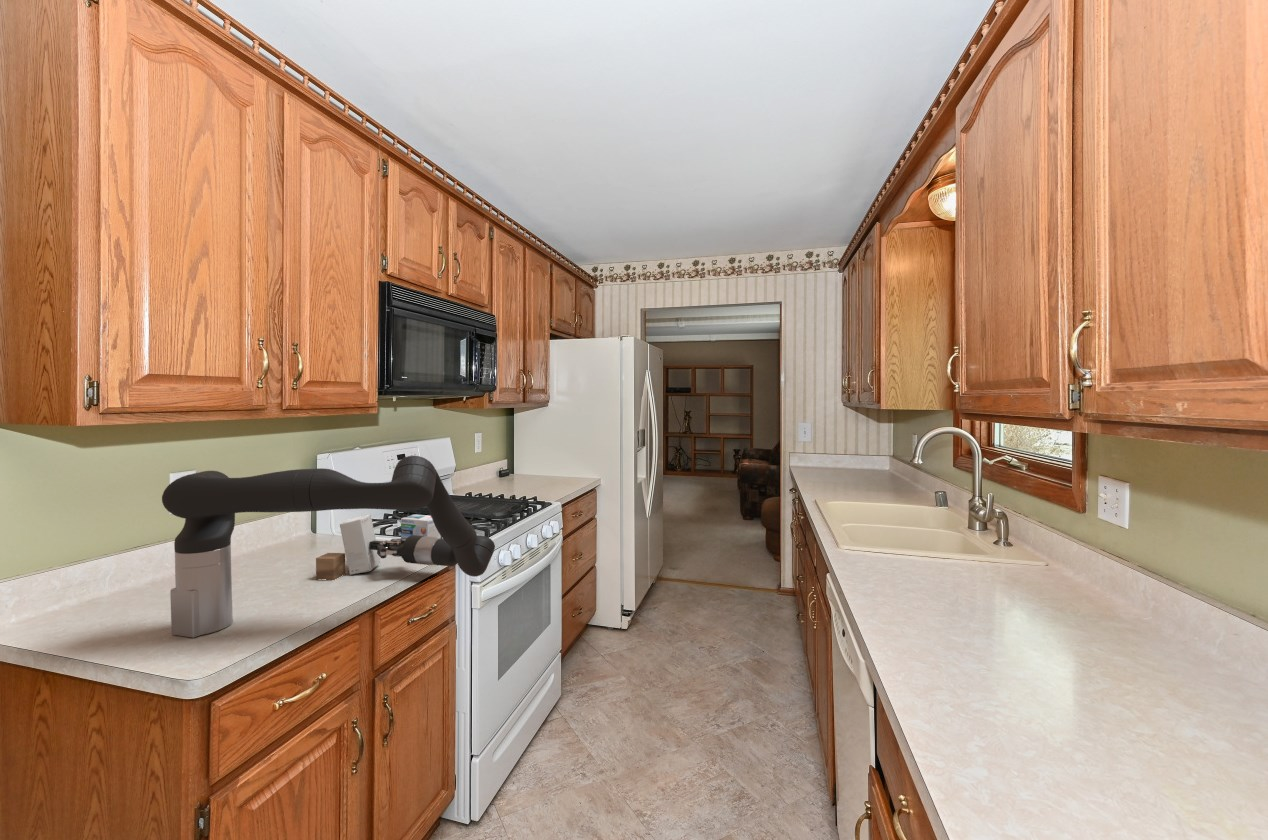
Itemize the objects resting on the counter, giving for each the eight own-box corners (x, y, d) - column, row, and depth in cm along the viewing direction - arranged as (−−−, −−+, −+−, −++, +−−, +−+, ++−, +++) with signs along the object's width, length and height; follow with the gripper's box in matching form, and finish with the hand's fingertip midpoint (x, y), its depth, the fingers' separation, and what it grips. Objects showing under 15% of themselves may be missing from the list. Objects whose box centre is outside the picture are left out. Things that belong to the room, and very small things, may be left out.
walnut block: (333, 580, 141) (333, 558, 140) (316, 580, 141) (315, 558, 141) (345, 574, 146) (345, 553, 145) (328, 573, 146) (328, 552, 146)
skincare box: (370, 571, 145) (361, 519, 144) (348, 575, 144) (338, 523, 143) (381, 562, 153) (372, 513, 153) (359, 566, 153) (350, 516, 152)
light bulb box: (400, 551, 168) (399, 518, 168) (414, 545, 174) (414, 513, 174) (428, 554, 165) (427, 520, 164) (441, 548, 171) (441, 516, 171)
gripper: (438, 530, 150) (387, 526, 154) (408, 543, 137) (353, 537, 141) (439, 556, 150) (387, 551, 154) (408, 571, 137) (353, 565, 142)
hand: (371, 544), depth 148 cm, fingers closed
